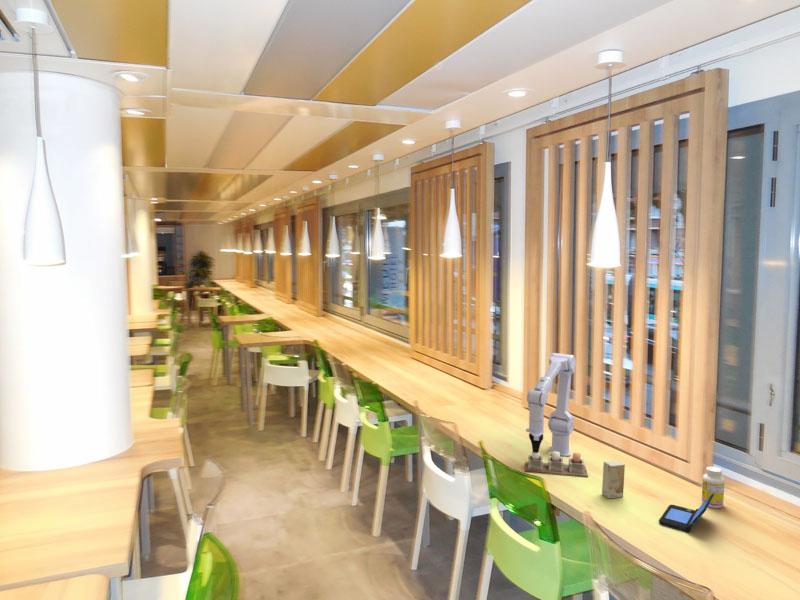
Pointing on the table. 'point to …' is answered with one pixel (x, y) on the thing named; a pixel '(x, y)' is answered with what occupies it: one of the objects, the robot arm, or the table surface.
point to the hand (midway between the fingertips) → (535, 452)
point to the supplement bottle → (713, 487)
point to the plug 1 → (535, 456)
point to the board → (556, 467)
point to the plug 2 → (556, 456)
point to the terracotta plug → (576, 457)
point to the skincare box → (613, 479)
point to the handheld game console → (683, 516)
